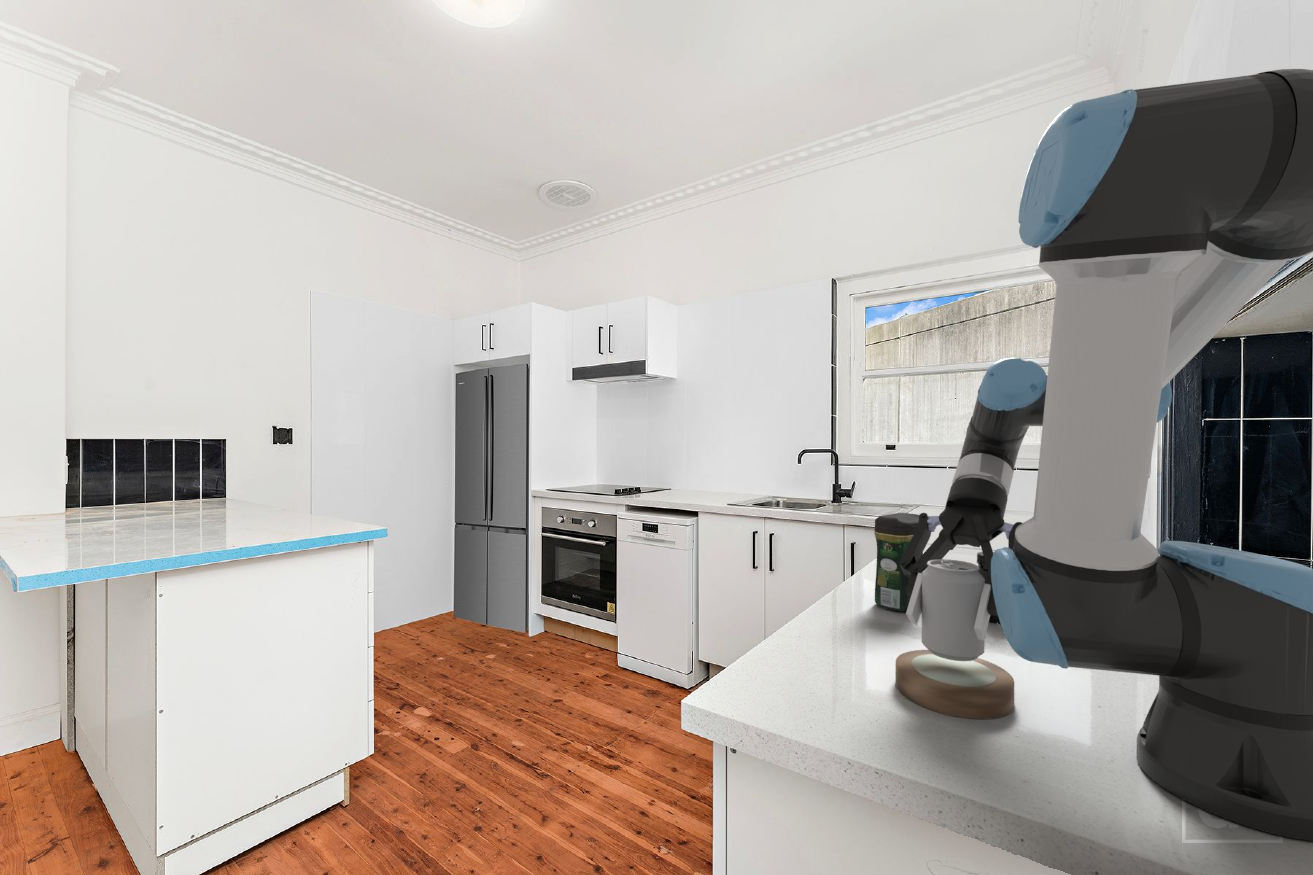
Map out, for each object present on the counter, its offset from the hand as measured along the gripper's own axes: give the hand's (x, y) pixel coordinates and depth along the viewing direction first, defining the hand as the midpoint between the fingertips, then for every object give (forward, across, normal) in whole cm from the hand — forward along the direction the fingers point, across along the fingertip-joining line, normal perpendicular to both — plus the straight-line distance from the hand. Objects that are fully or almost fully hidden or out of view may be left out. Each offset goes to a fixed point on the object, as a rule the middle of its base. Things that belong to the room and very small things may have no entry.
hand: (944, 626), depth 73 cm
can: (+1, 0, -6) cm, 6 cm away
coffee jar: (-19, +19, -33) cm, 42 cm away
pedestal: (+5, 0, -9) cm, 10 cm away
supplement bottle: (-21, +4, -36) cm, 42 cm away
